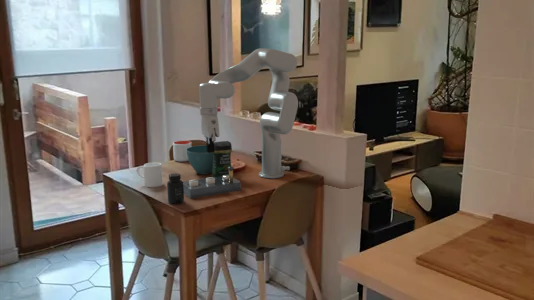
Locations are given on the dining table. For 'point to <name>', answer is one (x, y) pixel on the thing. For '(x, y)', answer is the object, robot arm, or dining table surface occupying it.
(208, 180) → the knob mid
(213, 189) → the mount
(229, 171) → the post
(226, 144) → the coffee jar
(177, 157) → the cup
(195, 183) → the knob far
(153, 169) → the mug
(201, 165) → the teal bowl
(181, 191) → the supplement bottle
